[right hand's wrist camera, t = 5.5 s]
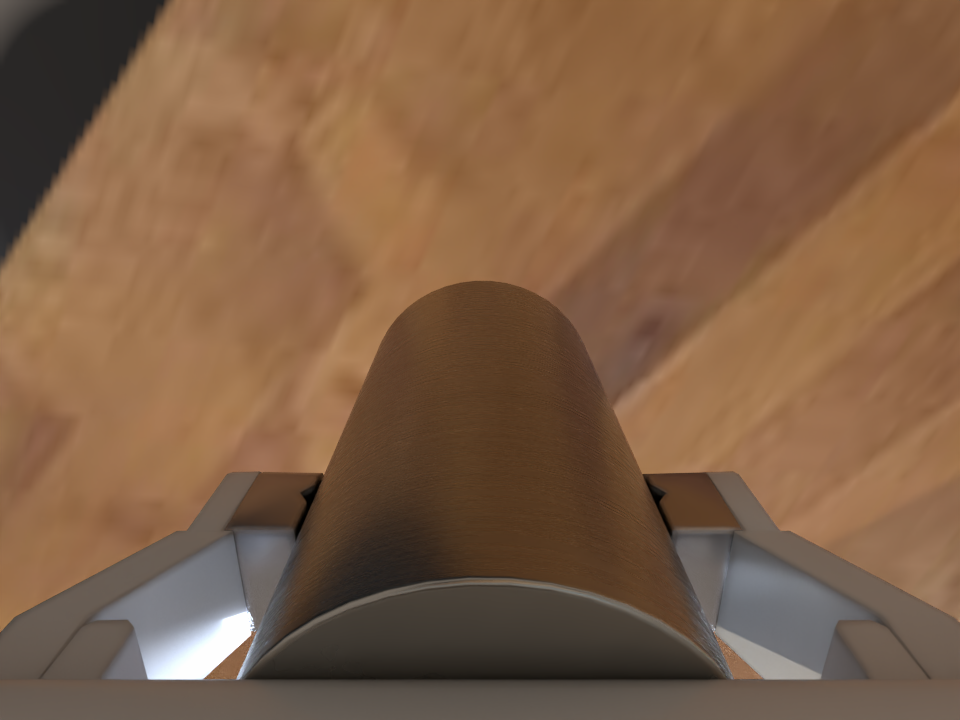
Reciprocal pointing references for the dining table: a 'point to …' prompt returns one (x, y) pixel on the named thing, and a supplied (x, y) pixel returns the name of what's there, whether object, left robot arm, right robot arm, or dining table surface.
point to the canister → (483, 519)
